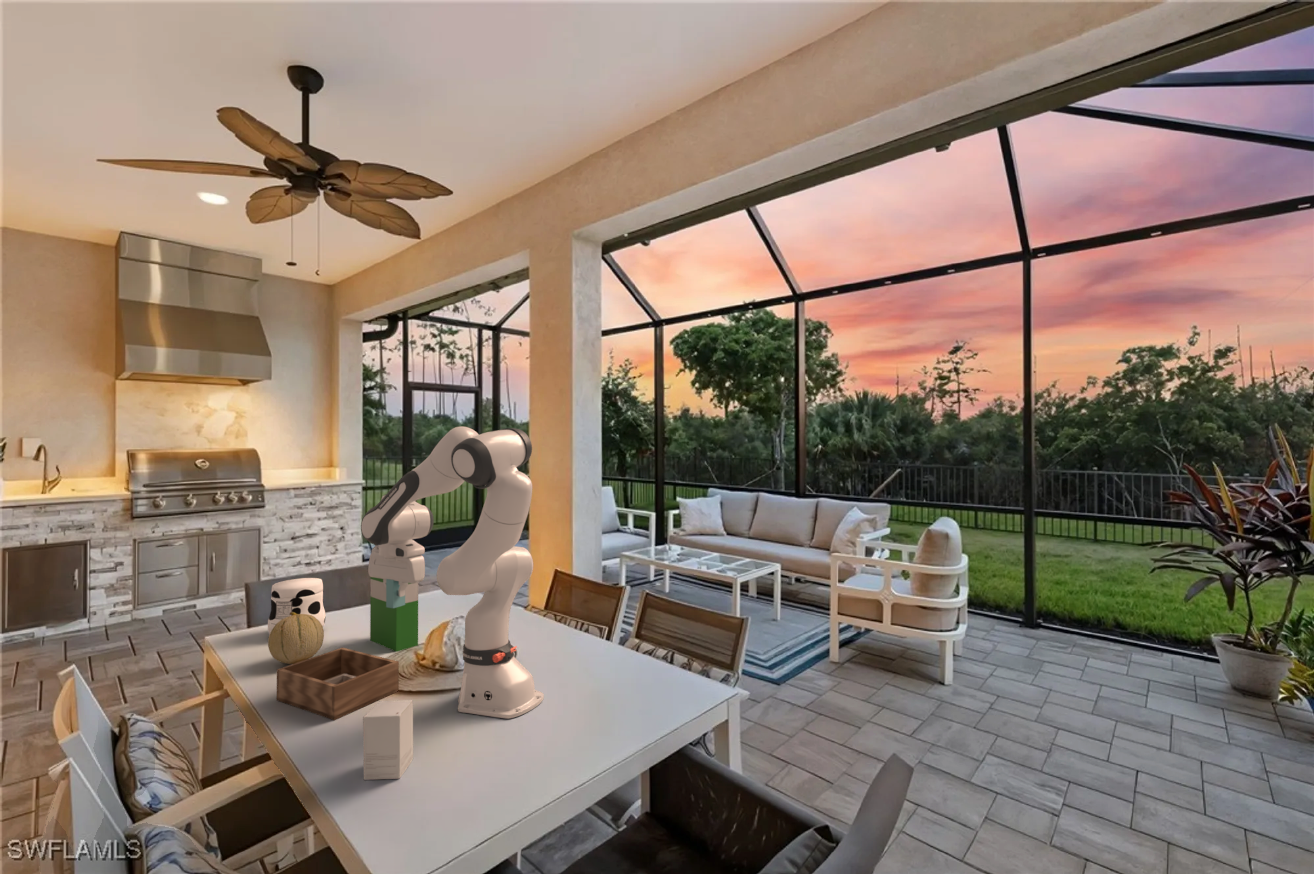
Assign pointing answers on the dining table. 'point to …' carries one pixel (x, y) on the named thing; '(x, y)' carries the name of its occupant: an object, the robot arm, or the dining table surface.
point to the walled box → (337, 682)
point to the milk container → (296, 600)
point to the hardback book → (393, 618)
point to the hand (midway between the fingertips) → (395, 595)
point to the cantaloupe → (296, 638)
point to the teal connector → (393, 594)
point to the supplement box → (388, 739)
